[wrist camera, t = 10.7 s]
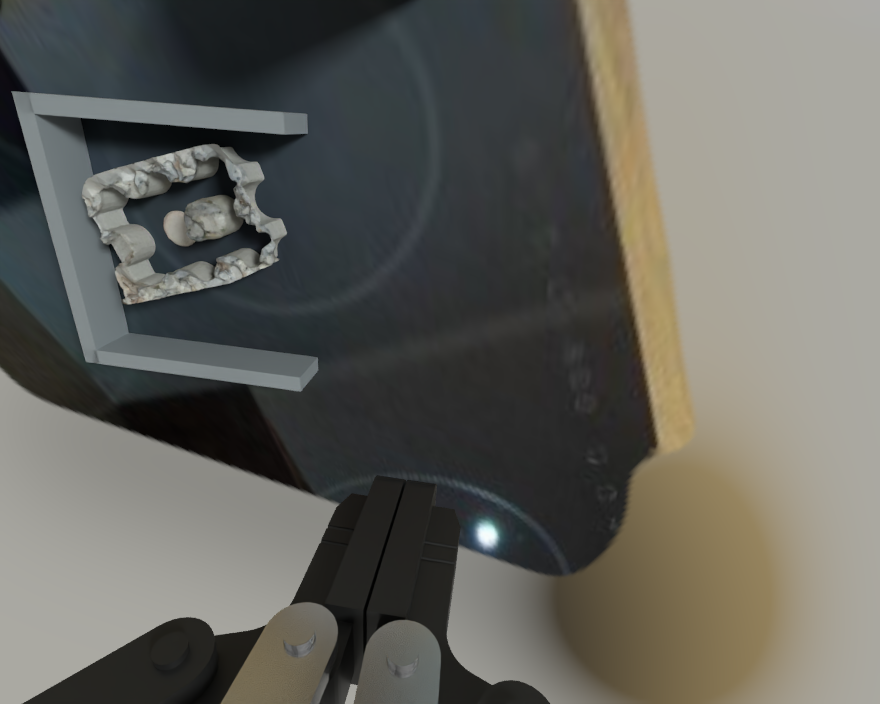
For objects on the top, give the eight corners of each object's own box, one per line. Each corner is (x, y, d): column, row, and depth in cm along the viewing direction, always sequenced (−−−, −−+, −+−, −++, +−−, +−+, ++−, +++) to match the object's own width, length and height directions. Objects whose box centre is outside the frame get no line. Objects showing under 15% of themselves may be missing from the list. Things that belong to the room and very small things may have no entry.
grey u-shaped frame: (59, 94, 28) (11, 91, 26) (307, 113, 27) (283, 112, 24) (118, 343, 35) (85, 361, 33) (318, 370, 34) (301, 391, 31)
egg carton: (161, 290, 33) (117, 311, 30) (107, 176, 30) (50, 184, 27) (301, 261, 31) (272, 280, 27) (257, 134, 28) (217, 136, 24)
